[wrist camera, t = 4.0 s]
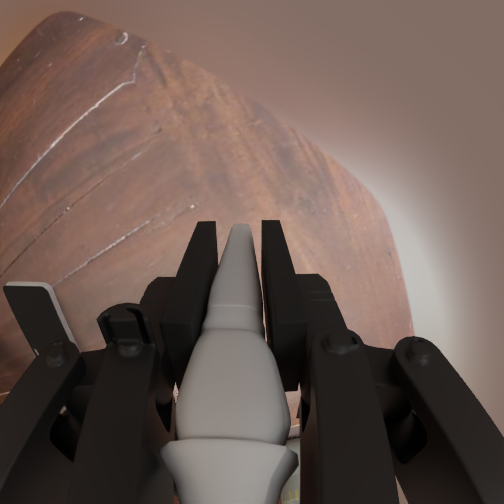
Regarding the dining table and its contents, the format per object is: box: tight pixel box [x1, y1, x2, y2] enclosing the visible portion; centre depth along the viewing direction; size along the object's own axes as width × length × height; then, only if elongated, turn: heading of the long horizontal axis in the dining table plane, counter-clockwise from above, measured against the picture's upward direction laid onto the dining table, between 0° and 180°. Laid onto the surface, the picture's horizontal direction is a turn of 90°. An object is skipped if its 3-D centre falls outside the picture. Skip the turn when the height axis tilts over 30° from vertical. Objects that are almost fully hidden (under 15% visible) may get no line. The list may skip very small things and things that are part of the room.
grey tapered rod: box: [160, 224, 299, 504], centre depth 9 cm, size 2×3×14 cm
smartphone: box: [3, 282, 81, 357], centre depth 26 cm, size 8×1×15 cm
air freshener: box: [281, 438, 300, 504], centre depth 31 cm, size 11×8×10 cm
